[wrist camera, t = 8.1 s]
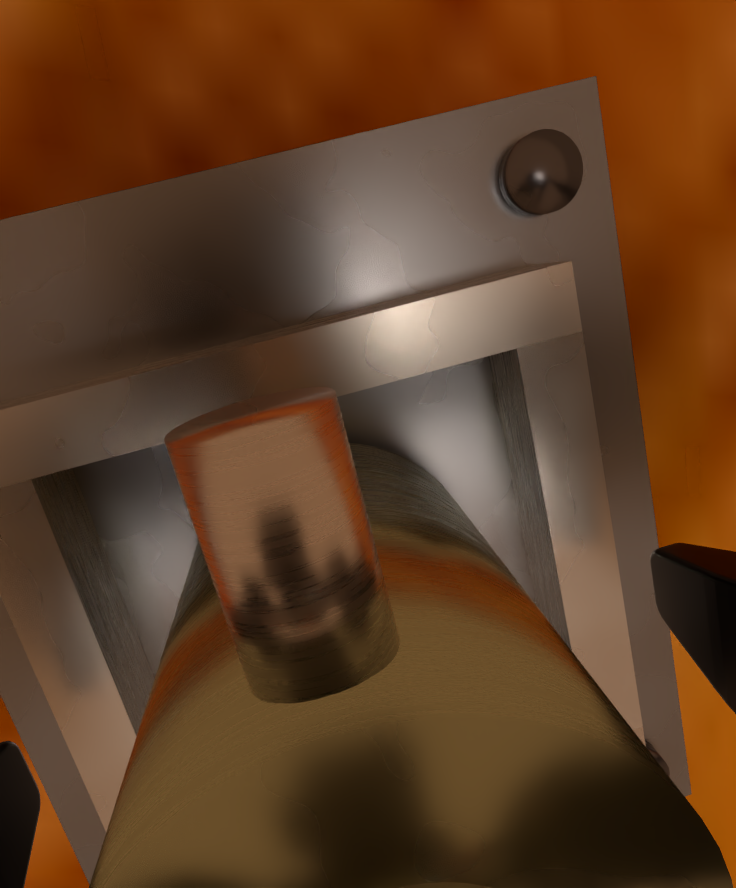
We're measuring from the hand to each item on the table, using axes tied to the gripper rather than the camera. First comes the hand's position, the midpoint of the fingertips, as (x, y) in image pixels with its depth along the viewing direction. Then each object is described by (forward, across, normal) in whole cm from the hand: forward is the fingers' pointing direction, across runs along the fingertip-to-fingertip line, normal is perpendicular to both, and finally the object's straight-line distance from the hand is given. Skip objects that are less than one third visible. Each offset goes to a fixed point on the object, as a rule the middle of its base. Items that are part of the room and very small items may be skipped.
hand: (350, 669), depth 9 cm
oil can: (+3, 0, 0) cm, 3 cm away
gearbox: (+6, +2, 0) cm, 6 cm away
